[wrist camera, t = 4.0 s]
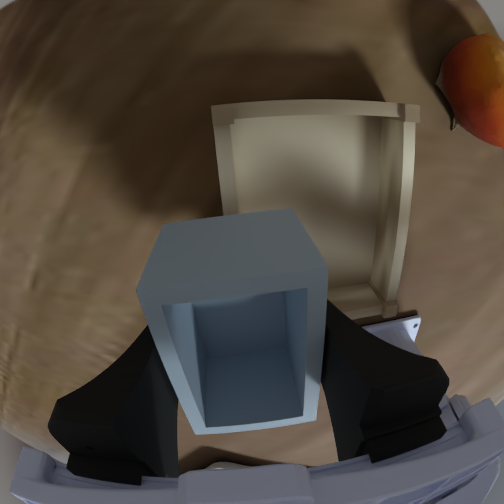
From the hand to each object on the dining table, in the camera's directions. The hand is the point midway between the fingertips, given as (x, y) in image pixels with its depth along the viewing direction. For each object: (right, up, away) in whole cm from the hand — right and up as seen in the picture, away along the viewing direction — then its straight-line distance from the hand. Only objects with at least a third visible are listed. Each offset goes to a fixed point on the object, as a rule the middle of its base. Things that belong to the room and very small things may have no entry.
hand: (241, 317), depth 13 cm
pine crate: (+4, +6, +7) cm, 10 cm away
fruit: (+16, +15, +3) cm, 23 cm away
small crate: (0, +1, +1) cm, 2 cm away
